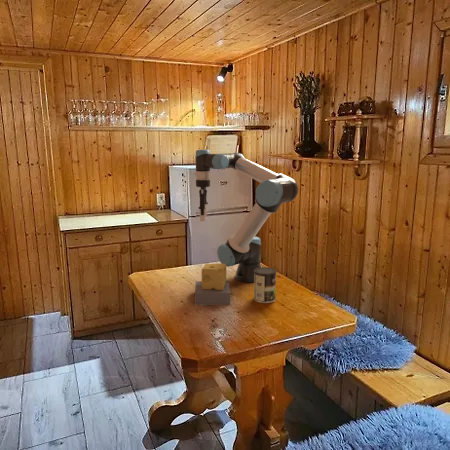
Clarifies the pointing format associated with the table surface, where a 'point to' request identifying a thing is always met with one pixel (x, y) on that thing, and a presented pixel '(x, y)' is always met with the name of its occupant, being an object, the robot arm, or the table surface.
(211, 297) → the charcoal block
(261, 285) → the coffee can
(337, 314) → the table surface
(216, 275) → the cheese
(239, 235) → the robot arm
